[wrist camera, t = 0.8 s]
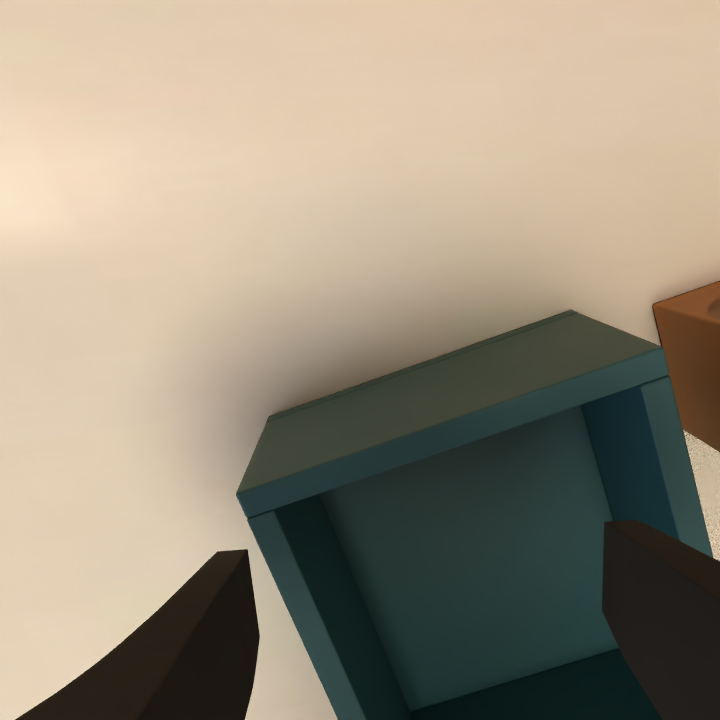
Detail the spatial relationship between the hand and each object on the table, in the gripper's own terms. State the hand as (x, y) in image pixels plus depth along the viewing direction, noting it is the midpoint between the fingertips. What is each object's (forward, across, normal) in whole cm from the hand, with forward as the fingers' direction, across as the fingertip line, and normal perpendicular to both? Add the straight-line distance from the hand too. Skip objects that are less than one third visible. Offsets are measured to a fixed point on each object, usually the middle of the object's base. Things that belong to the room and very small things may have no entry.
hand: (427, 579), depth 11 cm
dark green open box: (+10, -3, +5) cm, 11 cm away
